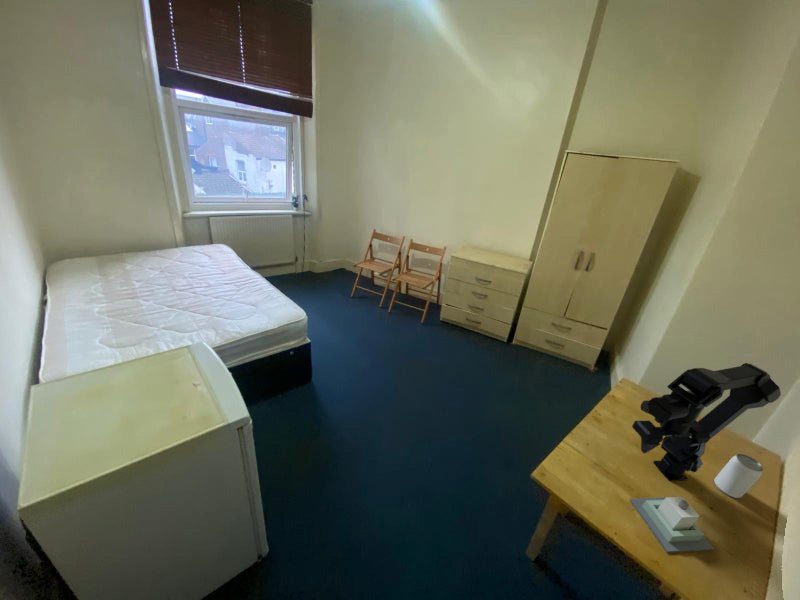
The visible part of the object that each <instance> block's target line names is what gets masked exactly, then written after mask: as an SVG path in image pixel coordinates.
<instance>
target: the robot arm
mask: <svg viewBox="0 0 800 600" xmlns="http://www.w3.org/2000/svg"><path fill="white" fill-rule="evenodd" d="M680 385H681V386H680ZM682 386H683V387H684V388H686V389H684V388H683V387H682ZM666 388H668V390H669V389H670V391H671V393H669V394H668V393H667V394H663V395H662V396H657V397H656V396H655V397H652V398H651V399H649V400H643V401H642V402H641V403H640V410H641V411H642V412H644V413H645V414H649V415H650V416H652V417H653V418H654V419H653V420H654V421H655V422H656V423H658V424H659V426H655V425H654V424H653V422H652V421H651V420H634V421H633V422H632V425H631V428H632V429H633V430H634V431H635V432H636V433H637V434H638V435H639V437H640V441H641V442H640V450H641V452H642V454H647V453H649V452H650V451H651V450H653V449H655V448H657V447H659V446H660V448H661V449H662V450H663V451H664V452H666V453H665V454H664V455H663V457H661V459H660V460H653V464H654V465H655V466H656V468H658V470H659V471H660V472H661V473H662V474H663V475H664V476H665V478H666V479H667V480H668V481H673V482H674V481H675V482H676V481H687V480H689V478H688V477H687V476H686V472H693V473H696V472H698V470H699V469H700V468H701V467H702V466H703V465H704V463H703V460H702V458H701V457H702V456H704V454H705V451H706V444H707V443H708V442H709V441H710V440H711V439H713V437H715V436H716V435H718V434H719V433H720V432H721V431H723V430H724V429H725V428H726V427H727V426H728V425H730V424H731V423H732V422H734V421H735V420H736V419H737V418H738V417H740V416H741V415H743V413H745V412H746V411H747V410H750V409H757V408H763V407H766V405H768V404H772V403H774V402H775V401H777V400H778V399H779V398H780V397H781V394H782V393H781V388H780V386H779V385H778V384H776V382H775V381H774V380H772V378H771V375H770V374H769V373H768V372H767V371H765V370H763V369H761V368H760V367H757V366H756V365H755V364H752V363H749V362H746V363H742V364H741V365H739V366H735V367H729V368H723V369H719V370H712V369H708V368H705V367H694V368H691V369H690V368H689V369H686V370H685V371H684V372H682V373H681V374H680V375H679V376H678V377H677V378H675V379H674V380H673V381H672V382H671V383H669V384H668V385H667V386H666ZM728 390H729V395H728V396H727V397H726V398H725V399H723V400H722V401H721V402H719V403H718V405H716V406H715V407H714V408H713V409H711V410H710V411H709V412H707V414H705V415H704V416H703V417H702V418H700V419H699V420H698V421H697V419H698V418H699V416H700V415H701V413H702V412H703V410H704V408H707V407H709V406H710V405H712V404H713V403H715V402H716V401H718V400H719V399H721V398H722V397H723V394H724V392H725V391H728ZM660 443H661V444H660Z"/></svg>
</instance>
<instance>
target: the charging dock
mask: <svg viewBox="0 0 800 600" xmlns="http://www.w3.org/2000/svg"><path fill="white" fill-rule="evenodd" d="M665 498H666V497H648V498H647V497H645V498H630V499H629V502H630V503H631V504H632V506H633V507H634V509H635V510H636V512H637V513H638V514H639V516H640V518H642V520H643V521H644V523H645V524H646V525H647V527H648V528H649V530H650V532H651V533H652V534H653V535H654V537H655V538H656V540H657V541H658V543H659V544H660V545H661V547H662V548H663V550H664V551H665V553H683V552H684V553H686V552H699V551H700V552H703V551H714V547H713V546H712V544H710V542H709V541H708V539H706V537H705V533H704V532H703V531H702V530H701V528H700V527H698V525H697V523H696V522H695V523H694V524H693V525H692V526H691V527H690V528H689V530H685V531H673V530H672V529H671V527H670V526H669V525H668V524H667V522H666V521H665V520H664V518H663V517H662V516H661V514H660V513H659V512H658V510H657V509H658V507H659V506H660V505H661V503H662V502H663V501H664V499H665Z"/></svg>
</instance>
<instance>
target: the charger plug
mask: <svg viewBox="0 0 800 600" xmlns="http://www.w3.org/2000/svg"><path fill="white" fill-rule="evenodd" d="M664 498H665V499H664V501H663V502H662V503H661V505H660V506H659V507H658V509H657V510H658V512H659V513H660V514H661V516H662V517H663V518H664V520H665V521H666V522H667V524H668V525H669V526H670V527H671V529H672V530H673V531H685V530H689V528H690V527H691V526H692V525H693V524H694V523H695V524H696V522H697V520H698V519H699V518H700V515H699V514H698V513H697V512H696V511H695V509H694V508H693V507H692V506H691V504H689V503H688V502H687V500H686V499H685V497H683V496H673V497H672V496H671V497H670V496H669V497H668V496H667V497H664Z"/></svg>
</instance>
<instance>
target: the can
mask: <svg viewBox="0 0 800 600" xmlns="http://www.w3.org/2000/svg"><path fill="white" fill-rule="evenodd" d="M763 471H764V467H763V466H762V464H761V463H760V462H759V461H757V460H756V459H755V458H753V457H752V456H749V455H747V454H743V453H737V454H736V455H734V456H732V457H731V458H730V460H729V461H728V462H727V463H726V464H725V465H724V467H723V468H722V469H721V470H720V472H719V473H718V474H717V475H716V476H715V478H714V481H713V482H714V484H715V486H716V488H718V489H719V490H720V491H721V492H722V493H724V494H725V495H727V496H729V497H731V498H734V499H740V498H742V497H744V495H745V494H746V493H747V492H748V491H749V490H750V488H751V487H752V486H753V485H755V483H756V482H757V481H758V480H759V479H760V478H761V477H762V475H763Z"/></svg>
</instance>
